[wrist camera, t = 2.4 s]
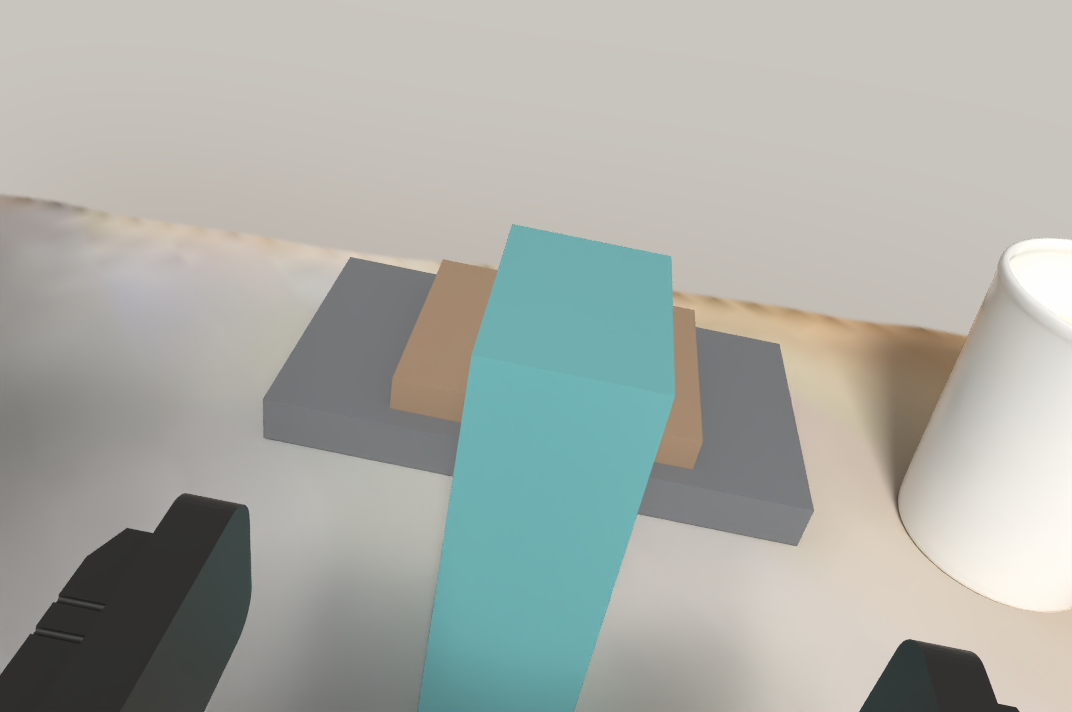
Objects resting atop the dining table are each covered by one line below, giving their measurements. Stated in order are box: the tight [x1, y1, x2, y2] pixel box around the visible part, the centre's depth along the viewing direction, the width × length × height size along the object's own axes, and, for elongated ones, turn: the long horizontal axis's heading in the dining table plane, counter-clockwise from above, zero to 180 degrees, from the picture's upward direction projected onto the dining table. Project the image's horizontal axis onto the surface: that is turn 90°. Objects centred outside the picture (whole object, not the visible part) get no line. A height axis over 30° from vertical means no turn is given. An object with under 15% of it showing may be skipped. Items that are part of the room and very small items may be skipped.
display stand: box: [263, 257, 814, 546], centre depth 40 cm, size 22×12×4 cm, turn 84°
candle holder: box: [898, 238, 1072, 612], centre depth 35 cm, size 10×10×12 cm
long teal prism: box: [418, 224, 675, 712], centre depth 25 cm, size 4×6×14 cm
